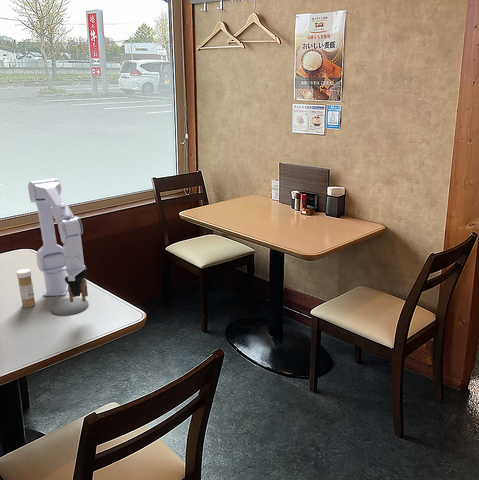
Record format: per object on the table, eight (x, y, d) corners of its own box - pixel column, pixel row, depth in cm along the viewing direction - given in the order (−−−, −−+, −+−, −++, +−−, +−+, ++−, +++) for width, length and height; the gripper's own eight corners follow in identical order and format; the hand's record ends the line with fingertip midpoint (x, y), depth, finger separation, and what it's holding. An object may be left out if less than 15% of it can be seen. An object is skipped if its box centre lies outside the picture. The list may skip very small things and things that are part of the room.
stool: (73, 296, 173) (71, 279, 171) (88, 295, 174) (86, 279, 172) (69, 302, 168) (67, 285, 167) (85, 301, 169) (83, 284, 167)
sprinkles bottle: (32, 301, 186) (26, 267, 182) (37, 305, 183) (32, 270, 179) (19, 305, 183) (14, 270, 179) (25, 309, 180) (19, 274, 176)
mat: (55, 299, 187) (55, 298, 187) (91, 298, 188) (91, 296, 188) (45, 316, 175) (45, 314, 174) (84, 314, 176) (84, 312, 176)
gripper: (65, 247, 172) (70, 284, 177) (56, 263, 159) (61, 302, 163) (87, 246, 173) (91, 283, 177) (79, 262, 159) (83, 301, 164)
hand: (78, 292), depth 170 cm, fingers closed on stool, 5 cm apart
